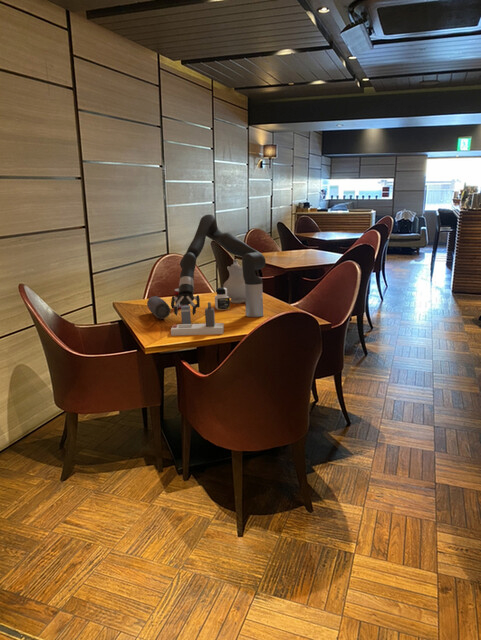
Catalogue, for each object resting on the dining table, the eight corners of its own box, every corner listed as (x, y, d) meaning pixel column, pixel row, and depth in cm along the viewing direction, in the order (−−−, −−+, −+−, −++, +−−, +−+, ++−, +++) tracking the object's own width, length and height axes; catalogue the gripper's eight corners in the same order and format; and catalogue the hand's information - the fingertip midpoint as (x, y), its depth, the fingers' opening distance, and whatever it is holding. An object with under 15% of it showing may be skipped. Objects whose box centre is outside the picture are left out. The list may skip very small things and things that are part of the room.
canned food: (189, 306, 287) (188, 287, 285) (188, 308, 280) (187, 290, 277) (176, 306, 287) (175, 288, 285) (175, 309, 279) (173, 290, 277)
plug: (191, 324, 242) (190, 305, 240) (190, 326, 238) (189, 307, 236) (183, 325, 243) (181, 305, 240) (182, 327, 239) (180, 307, 236)
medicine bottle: (217, 310, 273) (216, 289, 270) (215, 308, 280) (214, 287, 277) (230, 309, 275) (229, 288, 272) (227, 306, 281) (226, 286, 278)
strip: (223, 329, 232) (222, 300, 228) (223, 333, 223) (221, 304, 220) (174, 330, 232) (172, 302, 229) (171, 335, 224) (169, 306, 220)
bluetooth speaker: (146, 313, 272) (145, 296, 270) (163, 311, 275) (161, 294, 273) (154, 322, 251) (152, 303, 249) (171, 319, 254) (170, 301, 252)
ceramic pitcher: (218, 301, 304) (214, 262, 297) (246, 295, 311) (242, 257, 304) (232, 307, 284) (228, 265, 278) (262, 301, 292) (258, 260, 285)
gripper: (201, 290, 251) (199, 317, 243) (173, 291, 251) (171, 318, 243) (199, 282, 244) (198, 310, 236) (171, 283, 245) (169, 310, 237)
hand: (184, 314), depth 240 cm, fingers open, 8 cm apart
